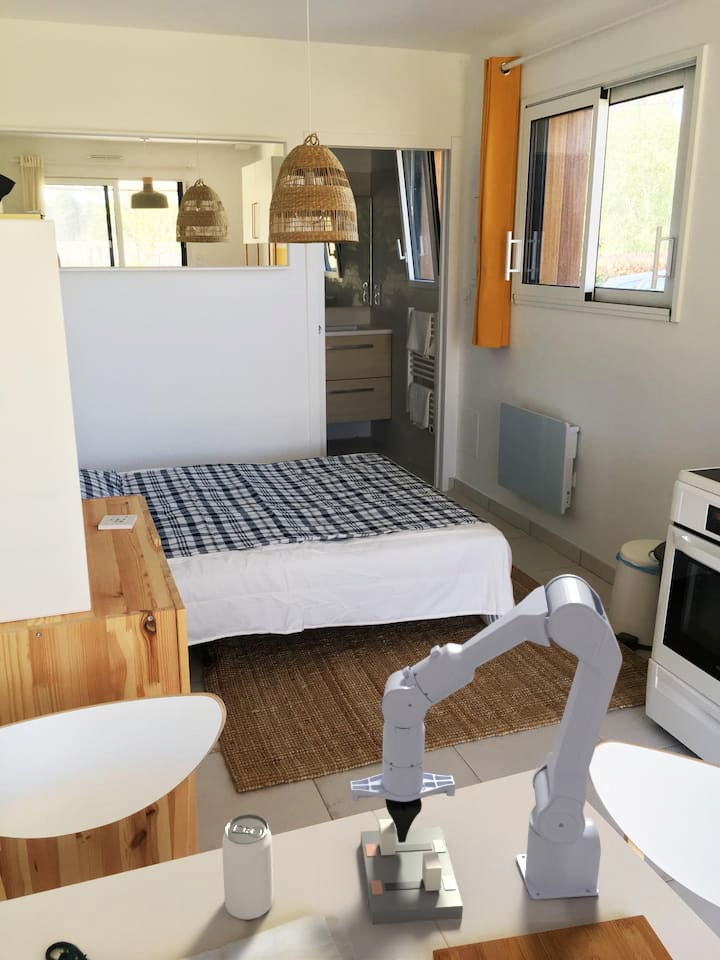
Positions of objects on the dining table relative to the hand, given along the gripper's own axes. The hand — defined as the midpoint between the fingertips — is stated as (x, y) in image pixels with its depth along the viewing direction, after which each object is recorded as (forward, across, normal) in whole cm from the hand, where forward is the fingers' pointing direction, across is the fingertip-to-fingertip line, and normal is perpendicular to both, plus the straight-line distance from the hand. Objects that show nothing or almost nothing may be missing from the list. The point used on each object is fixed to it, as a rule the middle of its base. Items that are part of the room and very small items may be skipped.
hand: (400, 837), depth 117 cm
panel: (+4, -1, +4) cm, 5 cm away
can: (+4, +21, +6) cm, 23 cm away
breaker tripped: (+1, +2, 0) cm, 2 cm away
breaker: (+1, -3, +7) cm, 8 cm away
